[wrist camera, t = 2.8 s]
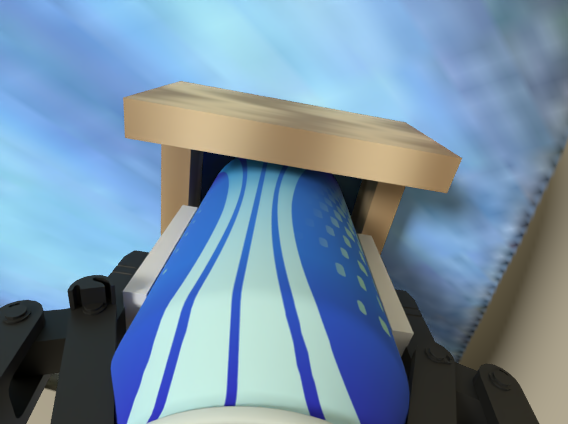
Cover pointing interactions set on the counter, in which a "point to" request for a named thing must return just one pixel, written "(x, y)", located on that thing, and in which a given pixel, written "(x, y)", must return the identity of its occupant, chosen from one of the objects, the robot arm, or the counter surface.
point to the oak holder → (285, 146)
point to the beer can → (263, 314)
